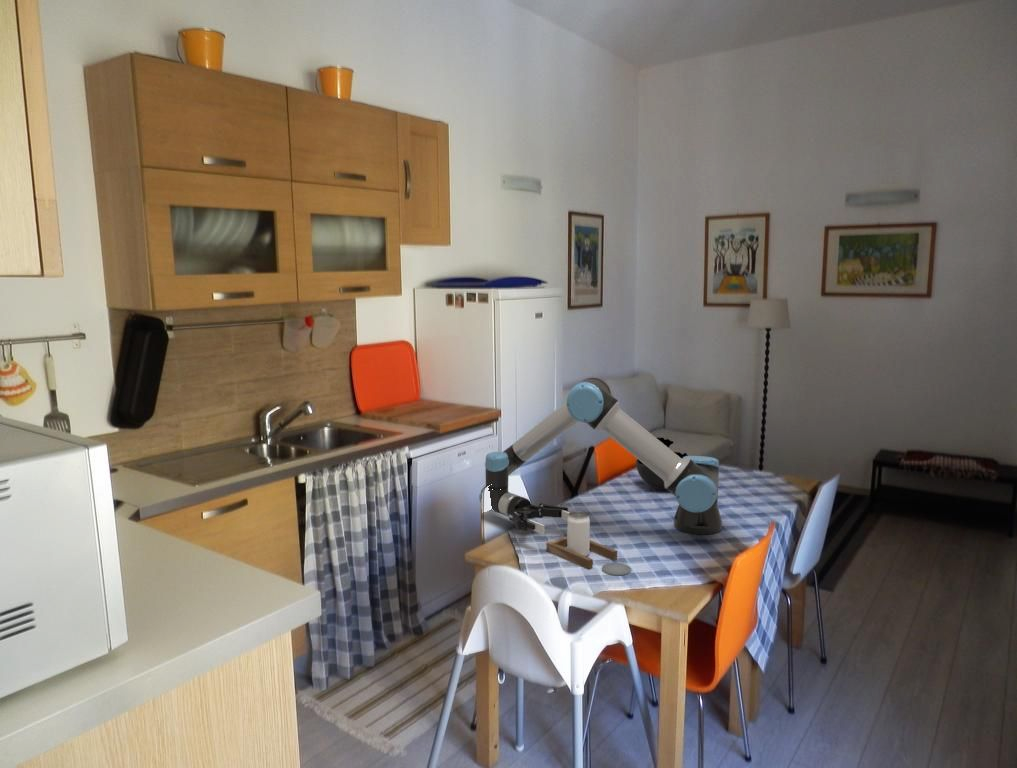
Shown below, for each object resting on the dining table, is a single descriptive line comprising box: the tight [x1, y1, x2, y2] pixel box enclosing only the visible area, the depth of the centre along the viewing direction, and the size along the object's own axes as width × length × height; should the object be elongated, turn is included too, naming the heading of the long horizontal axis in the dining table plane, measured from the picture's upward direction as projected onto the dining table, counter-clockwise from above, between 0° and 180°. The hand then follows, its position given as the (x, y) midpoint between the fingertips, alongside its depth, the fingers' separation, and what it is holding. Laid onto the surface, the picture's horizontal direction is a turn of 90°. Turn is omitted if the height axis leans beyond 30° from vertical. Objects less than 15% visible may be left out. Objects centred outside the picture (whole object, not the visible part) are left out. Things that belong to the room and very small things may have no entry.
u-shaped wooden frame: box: [545, 535, 618, 570], centre depth 211 cm, size 12×18×2 cm, turn 39°
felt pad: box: [601, 562, 632, 577], centre depth 201 cm, size 8×8×1 cm
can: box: [566, 510, 591, 557], centre depth 211 cm, size 6×6×12 cm
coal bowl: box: [635, 437, 688, 490], centre depth 276 cm, size 20×20×19 cm
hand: (560, 524), depth 217 cm, fingers open, 13 cm apart
